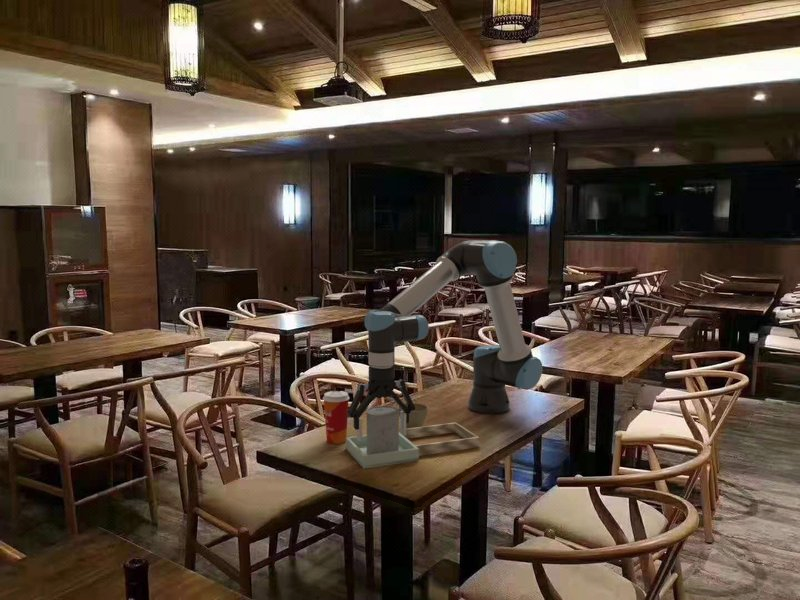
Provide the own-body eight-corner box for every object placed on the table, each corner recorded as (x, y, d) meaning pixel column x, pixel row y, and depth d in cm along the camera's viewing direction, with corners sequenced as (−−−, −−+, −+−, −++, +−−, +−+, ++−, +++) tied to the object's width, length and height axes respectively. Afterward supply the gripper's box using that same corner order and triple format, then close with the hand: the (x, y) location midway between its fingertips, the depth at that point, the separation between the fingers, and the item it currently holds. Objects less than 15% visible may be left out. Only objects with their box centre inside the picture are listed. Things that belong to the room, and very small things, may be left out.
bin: (397, 441, 195) (397, 431, 195) (418, 460, 180) (418, 448, 180) (345, 448, 189) (345, 437, 189) (363, 468, 174) (363, 456, 173)
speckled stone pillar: (403, 448, 188) (403, 408, 186) (392, 459, 179) (392, 417, 177) (373, 444, 191) (373, 405, 189) (361, 455, 182) (361, 414, 180)
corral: (455, 431, 206) (456, 422, 205) (479, 447, 191) (479, 437, 191) (394, 439, 198) (394, 430, 197) (413, 456, 183) (413, 446, 183)
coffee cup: (323, 436, 200) (323, 390, 198) (349, 436, 200) (349, 390, 199) (322, 446, 191) (322, 397, 190) (349, 445, 192) (349, 397, 190)
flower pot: (425, 433, 203) (425, 412, 202) (394, 431, 205) (394, 410, 204) (430, 424, 213) (430, 403, 212) (400, 422, 215) (401, 401, 214)
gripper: (416, 359, 189) (415, 427, 192) (336, 366, 180) (336, 438, 183) (426, 364, 182) (426, 435, 185) (343, 372, 173) (344, 446, 176)
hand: (381, 436), depth 184 cm, fingers open, 13 cm apart
